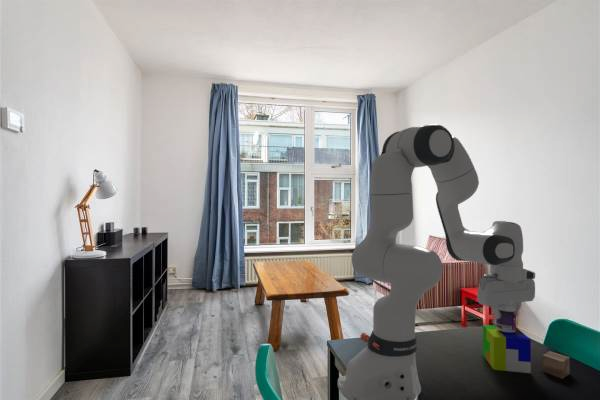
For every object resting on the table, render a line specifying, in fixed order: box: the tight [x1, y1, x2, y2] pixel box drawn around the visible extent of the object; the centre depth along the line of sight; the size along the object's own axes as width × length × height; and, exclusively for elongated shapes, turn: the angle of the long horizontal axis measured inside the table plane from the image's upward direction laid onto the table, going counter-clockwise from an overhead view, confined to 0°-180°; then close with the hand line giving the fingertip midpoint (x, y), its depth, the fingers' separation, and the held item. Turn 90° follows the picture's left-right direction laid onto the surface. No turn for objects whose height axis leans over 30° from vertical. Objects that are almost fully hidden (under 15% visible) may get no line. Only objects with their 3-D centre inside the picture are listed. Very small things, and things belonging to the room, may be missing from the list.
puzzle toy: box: [482, 324, 532, 374], centre depth 107 cm, size 10×10×10 cm
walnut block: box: [542, 350, 571, 380], centre depth 101 cm, size 5×5×5 cm
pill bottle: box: [495, 301, 517, 333], centre depth 107 cm, size 5×5×10 cm
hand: (506, 317), depth 107 cm, fingers closed on pill bottle, 5 cm apart
